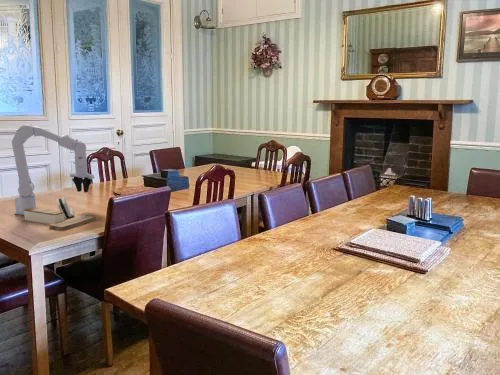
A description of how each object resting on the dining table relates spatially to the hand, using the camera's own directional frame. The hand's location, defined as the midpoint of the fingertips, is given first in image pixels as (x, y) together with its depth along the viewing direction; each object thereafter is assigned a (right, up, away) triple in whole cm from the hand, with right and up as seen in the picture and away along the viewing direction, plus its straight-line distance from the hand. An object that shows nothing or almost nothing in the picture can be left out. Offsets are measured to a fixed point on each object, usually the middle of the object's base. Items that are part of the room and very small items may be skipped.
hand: (82, 191), depth 239 cm
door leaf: (+5, -15, -25) cm, 30 cm away
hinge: (-5, -12, -9) cm, 16 cm away
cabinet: (-11, -13, -20) cm, 27 cm away
